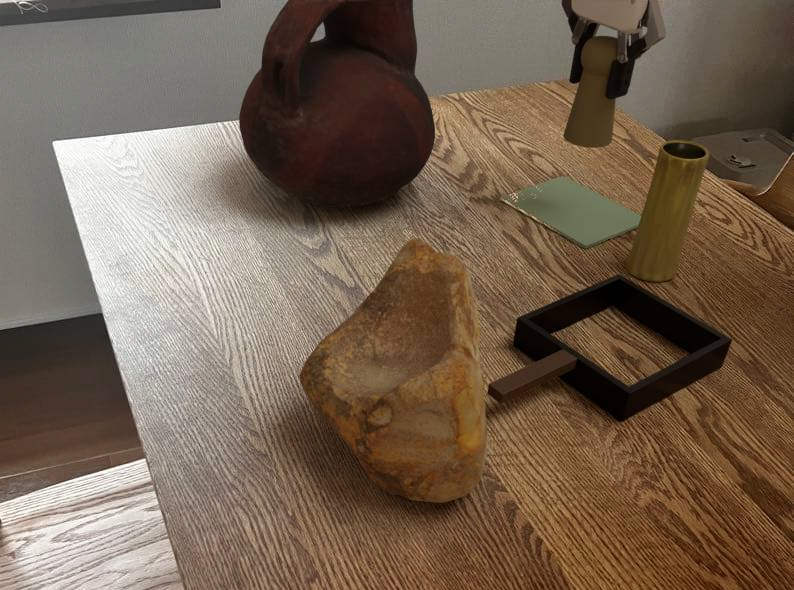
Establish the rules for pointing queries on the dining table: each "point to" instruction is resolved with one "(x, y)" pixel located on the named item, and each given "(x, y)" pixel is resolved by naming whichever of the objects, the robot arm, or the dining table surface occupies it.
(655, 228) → the vase
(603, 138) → the olive pawn figure
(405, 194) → the dining table surface
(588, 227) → the mat
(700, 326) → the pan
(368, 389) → the rough brown rock
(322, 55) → the jug
